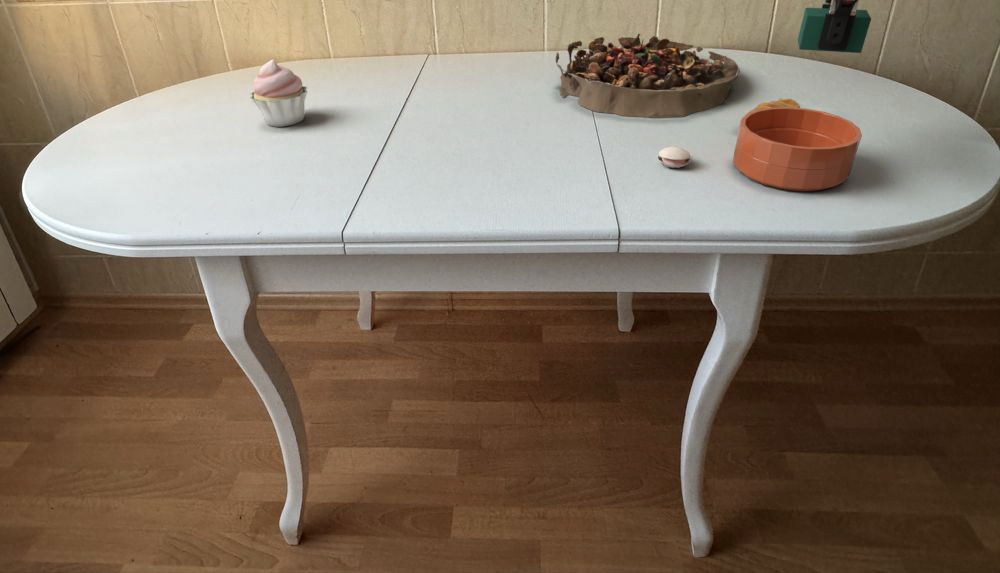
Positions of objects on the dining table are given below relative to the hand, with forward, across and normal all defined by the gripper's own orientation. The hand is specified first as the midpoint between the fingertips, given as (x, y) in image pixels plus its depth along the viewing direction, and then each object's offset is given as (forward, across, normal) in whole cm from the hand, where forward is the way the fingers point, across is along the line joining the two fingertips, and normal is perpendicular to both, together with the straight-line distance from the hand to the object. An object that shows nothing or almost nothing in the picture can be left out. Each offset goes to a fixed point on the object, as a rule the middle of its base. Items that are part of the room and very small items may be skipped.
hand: (829, 41), depth 78 cm
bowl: (+16, -4, +1) cm, 16 cm away
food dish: (+16, +27, +26) cm, 41 cm away
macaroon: (+16, -6, +16) cm, 24 cm away
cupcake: (+16, -6, +80) cm, 82 cm away
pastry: (+16, +11, +4) cm, 19 cm away
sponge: (+1, 0, 0) cm, 1 cm away
